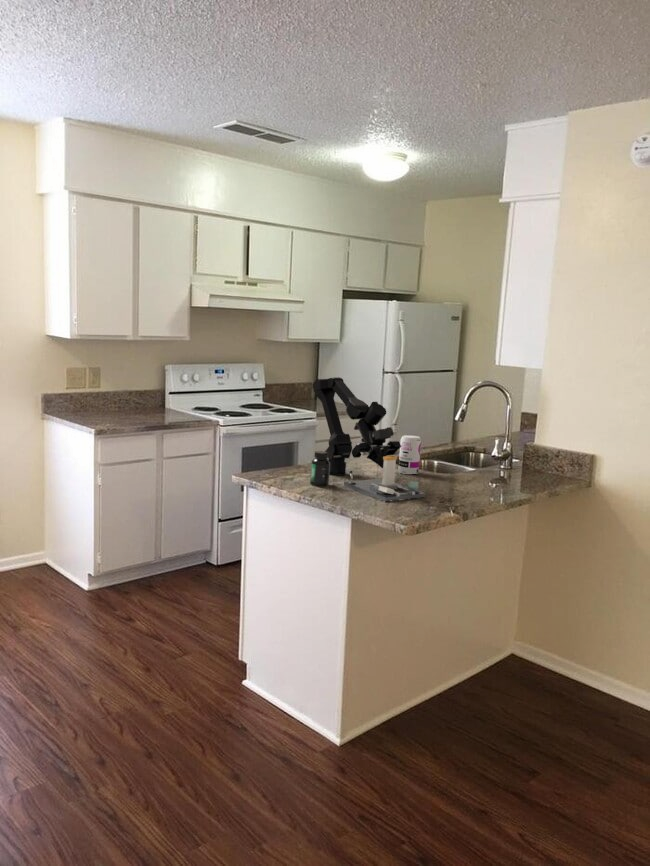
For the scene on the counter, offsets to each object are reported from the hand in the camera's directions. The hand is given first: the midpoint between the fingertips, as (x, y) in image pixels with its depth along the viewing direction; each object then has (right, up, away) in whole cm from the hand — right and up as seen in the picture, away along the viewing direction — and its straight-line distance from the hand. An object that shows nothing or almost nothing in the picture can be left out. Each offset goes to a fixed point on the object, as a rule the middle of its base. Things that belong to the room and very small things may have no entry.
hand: (385, 468), depth 256 cm
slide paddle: (+1, -7, -1) cm, 7 cm away
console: (-1, -8, +1) cm, 8 cm away
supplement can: (+12, -4, +35) cm, 37 cm away
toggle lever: (-12, -4, +4) cm, 13 cm away
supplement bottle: (-23, -6, +6) cm, 25 cm away
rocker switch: (-1, -7, -9) cm, 12 cm away
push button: (+9, -7, -3) cm, 12 cm away
